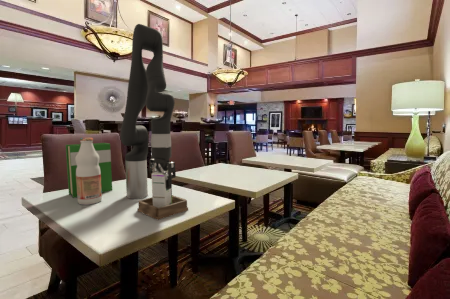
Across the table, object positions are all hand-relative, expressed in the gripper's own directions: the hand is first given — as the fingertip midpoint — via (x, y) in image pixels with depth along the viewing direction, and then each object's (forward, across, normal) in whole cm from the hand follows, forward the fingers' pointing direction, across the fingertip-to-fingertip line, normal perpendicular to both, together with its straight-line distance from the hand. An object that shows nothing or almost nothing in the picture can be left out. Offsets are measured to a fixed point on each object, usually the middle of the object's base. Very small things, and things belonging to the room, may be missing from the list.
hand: (162, 186), depth 98 cm
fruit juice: (+10, -33, -15) cm, 37 cm away
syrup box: (+9, 0, 0) cm, 9 cm away
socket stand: (+10, 0, 0) cm, 10 cm away
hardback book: (+10, -48, -9) cm, 50 cm away
